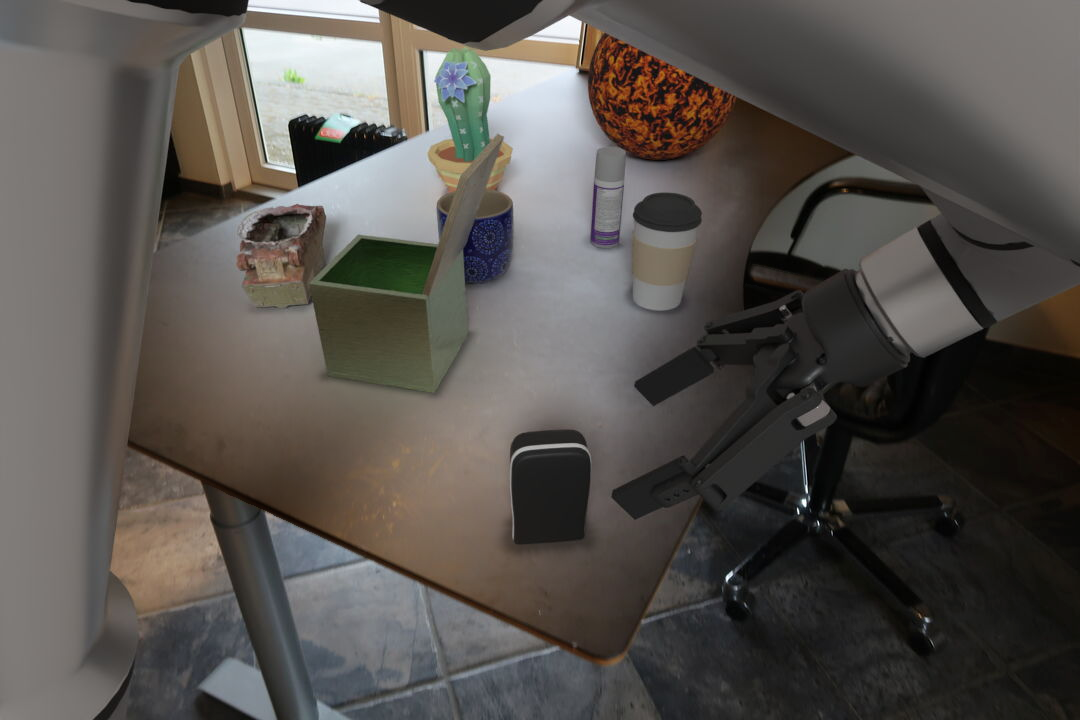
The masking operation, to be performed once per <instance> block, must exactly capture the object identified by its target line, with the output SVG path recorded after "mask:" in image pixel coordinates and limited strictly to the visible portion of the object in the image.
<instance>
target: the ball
mask: <svg viewBox="0 0 1080 720" xmlns="http://www.w3.org/2000/svg"><path fill="white" fill-rule="evenodd" d="M602 33H603V34H602V35H601V37H600V38H599V40H598V42H597V44H596V46H595V48H594V50H593V54H592V56H591V59H590V63H589V68H588V74H587V92H588V94H587V95H588V99H589V105H590V109H591V112H592V114H593V116H594V118H595V121H596V122H597V124H598V127H600V129H601V130H602V133H604V135H605V136H606V137H607V138H608V139H609V140H610V141H611V142H612V143H613V144H615V145H616V147H618V148H621V149H623V150H625V151H626V153H628V154H631V155H633V156H635V157H638V158H642V159H647V160H654V161H655V160H656V161H663V160H665V161H666V160H672V159H676V158H681V157H683V156H686V155H688V154H691V153H693V152H695V151H697V150H699V149H700V148H702V147H704V145H706V144H707V143H709V142H710V141H711V140H712V139H713V138H714V137H715V136H716V135H717V134H718V133H719V132H720V131H721V129H722V128H723V127H724V125H725V124H726V122H727V121H728V119H729V118H730V116H731V114H732V113H733V110H734V107H735V105H736V102H737V100H738V97H736V96H734V95H732V94H730V93H728V92H726V91H724V90H722V89H720V88H717V87H715V86H713V85H711V84H709V83H707V82H705V81H703V80H701V79H699V78H697V77H695V76H693V75H691V74H689V73H687V72H685V71H682V70H680V69H678V68H676V67H674V66H672V65H670V64H668V63H666V62H664V61H662V60H660V59H658V58H656V57H654V56H652V55H650V54H647V53H645V52H643V51H641V50H639V49H637V48H635V47H633V46H631V45H629V44H627V43H625V42H623V41H621V40H619V39H617V38H615V37H612V36H610V35H608V34H606V33H604V32H602Z"/></svg>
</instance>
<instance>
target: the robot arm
mask: <svg viewBox="0 0 1080 720" xmlns="http://www.w3.org/2000/svg"><path fill="white" fill-rule="evenodd" d="M249 1H250V0H0V720H126V717H127V710H128V705H129V700H130V693H131V688H132V683H133V674H134V671H135V665H136V657H137V652H138V646H139V639H140V633H139V625H140V624H139V618H138V611H137V608H136V605H135V602H134V599H133V596H132V595H131V594H130V592H129V590H128V588H127V587H126V585H125V584H124V583H123V582H122V581H121V579H120V578H119V577H118V576H117V575H116V574H115V573H114V572H112V571H111V567H112V558H113V552H114V545H115V536H116V529H117V522H118V516H119V515H118V514H119V508H120V501H121V494H122V486H123V480H124V472H125V464H126V458H127V451H128V450H127V449H128V444H129V443H128V442H129V435H130V428H131V421H132V414H133V413H132V412H133V405H134V399H135V392H136V386H137V385H136V384H137V378H138V370H139V364H140V363H139V362H140V356H141V349H142V342H143V341H142V340H143V333H144V326H145V318H146V311H147V305H148V297H149V292H150V291H149V289H150V283H151V277H152V269H153V262H154V261H153V260H154V254H155V246H156V239H157V231H158V225H159V217H160V209H161V203H162V195H163V188H164V181H165V173H166V168H167V167H166V166H167V159H168V153H169V152H168V151H169V144H170V137H171V130H172V124H173V123H172V122H173V116H174V108H175V101H176V94H177V86H178V79H179V72H180V71H179V70H180V66H181V64H183V62H184V61H185V60H186V59H187V58H188V56H190V55H191V54H193V53H195V52H197V51H199V50H200V49H203V48H204V47H205V46H207V45H209V44H211V43H213V42H215V41H216V40H218V39H220V38H221V37H224V36H225V35H227V34H229V33H231V32H232V31H234V30H236V29H238V28H239V27H240V28H241V26H244V24H245V22H246V20H247V19H246V18H247V13H248V8H249V7H248V6H249ZM358 1H359V2H360V3H361V4H364V5H368V6H370V7H372V8H374V9H377V10H379V11H381V12H384V13H387V14H389V15H391V16H393V17H396V18H398V19H400V20H403V21H405V22H407V23H410V24H411V25H412V24H413V25H415V26H417V27H420V28H422V29H424V30H426V31H429V32H431V33H433V34H436V35H438V36H441V37H443V38H445V39H447V40H449V41H453V42H454V43H457V44H460V45H462V46H464V47H467V48H471V49H474V50H475V49H476V50H479V51H485V52H487V51H493V50H498V49H505V48H508V47H511V46H512V45H514V44H517V43H519V42H521V41H523V40H525V39H528V38H530V37H532V36H534V35H536V34H538V33H540V32H541V31H544V30H545V29H547V28H549V27H551V26H552V25H554V24H557V23H558V22H560V21H561V20H563V19H565V18H568V17H571V18H573V19H576V20H577V21H579V22H582V23H584V24H586V25H587V26H590V27H592V28H594V29H596V30H598V31H600V32H602V33H606V34H608V35H610V36H612V37H615V38H617V39H619V40H621V41H623V42H625V43H627V44H629V45H631V46H633V47H635V48H637V49H639V50H641V51H643V52H645V53H647V54H650V55H652V56H654V57H656V58H658V59H660V60H662V61H664V62H666V63H668V64H670V65H672V66H674V67H676V68H678V69H680V70H682V71H685V72H687V73H689V74H691V75H693V76H695V77H697V78H699V79H701V80H703V81H705V82H707V83H709V84H711V85H713V86H715V87H717V88H720V89H722V90H724V91H726V92H728V93H730V94H732V95H734V96H736V97H737V99H740V100H742V101H744V102H747V103H749V104H751V105H753V106H755V107H757V108H758V109H761V110H763V111H765V112H767V113H769V114H771V115H773V116H774V117H775V116H776V117H777V118H779V119H781V120H784V121H786V122H787V123H790V124H792V125H794V126H796V127H798V128H800V129H802V130H804V131H806V132H808V133H810V134H812V135H814V136H816V137H819V138H821V139H822V140H825V141H827V142H829V143H831V144H833V145H835V146H836V147H838V148H839V147H840V148H841V149H843V150H845V151H847V152H848V153H852V154H854V155H856V156H858V157H859V158H862V159H864V160H865V161H868V162H870V163H871V164H874V165H876V166H878V167H880V168H882V169H884V170H887V171H888V172H891V173H892V174H895V175H897V176H899V177H901V178H902V179H905V180H907V181H909V182H911V183H913V184H916V185H918V186H919V187H920V188H921V189H922V191H923V192H924V193H925V194H926V196H927V197H928V199H929V200H930V201H931V202H932V204H933V205H934V206H935V207H936V208H937V210H938V212H940V213H939V214H937V215H936V216H934V217H933V218H931V219H929V220H927V221H925V222H924V223H921V224H920V225H918V226H917V225H916V226H915V227H913V228H911V229H909V230H908V231H906V232H905V233H902V234H901V235H899V236H897V237H896V238H894V239H892V240H891V241H889V242H887V243H886V244H884V245H882V246H880V247H879V248H876V249H875V250H874V251H872V252H870V253H868V254H867V255H865V256H863V257H862V258H860V260H859V263H858V267H859V269H858V270H855V269H853V268H850V269H848V268H843V269H842V270H840V271H838V272H836V273H835V274H833V275H831V276H830V277H828V278H827V279H825V280H823V281H821V282H819V283H818V284H815V285H814V286H812V287H811V288H810V289H808V290H807V291H805V292H803V291H802V290H801V289H797V290H794V291H792V292H790V293H789V294H787V295H785V296H783V297H780V298H779V299H776V300H774V301H772V302H768V303H765V304H761V305H758V306H754V307H751V308H748V309H744V310H741V311H737V312H735V313H731V314H728V315H725V316H721V317H718V318H714V319H711V320H710V321H707V322H706V323H705V325H704V326H703V330H704V331H705V334H704V335H702V336H701V337H699V339H697V341H696V345H695V346H693V347H691V348H689V349H687V350H685V351H684V352H682V353H681V354H679V355H677V356H675V357H674V358H672V359H670V360H669V361H667V362H666V363H664V364H661V365H660V366H658V367H657V368H655V369H654V370H652V371H650V372H649V373H646V374H645V375H644V376H642V377H640V378H638V379H636V380H635V381H634V384H633V387H634V388H635V389H636V391H638V392H639V394H641V396H642V397H643V398H644V399H645V400H646V401H647V402H648V403H649V404H650V405H651V406H652V407H655V406H657V405H659V404H660V403H662V402H664V401H666V400H667V399H669V398H671V397H673V396H675V395H677V394H679V393H680V392H682V391H684V390H686V389H688V388H689V387H691V386H694V385H695V384H696V383H698V382H700V381H702V380H704V379H705V378H707V377H709V376H711V375H712V374H714V372H715V367H716V368H717V369H718V371H722V369H723V368H724V367H725V365H726V366H727V365H728V366H730V365H731V366H755V368H754V371H753V379H752V380H751V382H750V383H749V384H748V385H747V386H746V388H745V398H744V399H743V400H742V402H740V403H739V404H738V406H737V407H736V408H735V409H734V410H733V411H732V413H731V414H730V415H729V416H728V417H727V418H726V419H725V420H724V421H723V423H722V424H721V425H720V426H719V427H718V428H717V429H716V430H715V432H714V433H713V434H712V435H711V436H710V437H709V438H708V440H706V442H705V443H704V444H703V445H702V446H701V447H700V448H699V449H698V451H696V453H695V454H694V455H693V456H692V457H691V459H690V460H689V459H688V458H687V457H686V456H685V455H681V456H679V457H677V458H675V459H673V460H671V461H668V462H667V463H665V464H662V465H660V466H658V467H657V468H654V469H652V470H651V471H648V472H647V473H644V474H642V475H640V476H638V477H636V478H634V479H632V480H630V481H627V482H626V483H624V484H622V485H619V486H618V487H616V488H614V489H612V491H611V497H610V498H611V499H612V500H613V501H614V502H615V503H616V504H617V505H619V507H620V508H622V510H623V511H625V512H626V513H627V514H628V516H630V517H631V518H632V519H633V521H636V520H638V519H640V518H642V517H645V516H647V515H649V514H651V513H653V512H655V511H658V510H661V509H663V508H665V509H666V508H672V507H674V506H676V505H679V504H681V503H683V502H685V501H688V500H690V499H692V498H694V497H696V496H700V497H701V498H702V499H703V500H704V501H705V502H706V503H707V504H708V505H709V506H710V507H711V509H712V510H713V511H715V512H720V511H723V510H724V509H726V508H727V507H728V506H729V505H730V504H731V503H733V502H734V501H735V500H736V499H737V498H739V496H741V495H742V494H743V493H744V492H745V491H746V490H748V489H749V488H750V487H751V486H752V485H754V484H755V483H756V482H757V481H758V480H759V479H761V478H762V477H763V476H764V475H766V474H767V473H768V472H769V471H770V470H771V469H772V468H773V467H775V466H776V465H777V464H778V463H779V462H781V461H782V460H783V459H784V458H785V457H787V455H789V454H790V453H791V452H792V451H794V450H795V449H796V448H797V447H798V446H799V445H801V444H802V443H803V442H804V441H805V440H806V439H808V438H810V437H812V436H813V435H815V434H817V433H819V432H820V431H823V430H824V429H826V428H829V427H830V426H832V425H833V424H834V423H835V422H836V421H837V418H838V414H836V412H835V411H834V410H833V409H832V408H831V407H830V405H829V404H828V403H827V401H826V399H825V396H824V395H825V394H826V393H827V392H828V391H830V389H832V388H833V387H834V386H836V385H838V384H841V383H846V384H850V385H852V386H854V387H858V388H865V387H867V386H870V385H872V384H874V383H877V382H878V381H880V380H882V379H884V378H886V377H889V376H891V375H893V374H895V373H897V372H899V371H901V370H904V369H906V368H908V365H909V364H908V363H910V361H911V353H912V354H913V355H915V356H916V357H919V358H923V359H924V358H927V357H928V356H930V355H932V354H935V353H937V352H938V351H941V350H943V349H945V348H947V347H949V346H951V345H953V344H955V343H957V342H959V341H962V340H963V339H965V338H967V337H970V336H971V335H974V334H975V333H977V332H979V331H982V330H983V329H988V328H990V327H992V326H994V325H996V324H997V323H999V322H1001V321H1003V320H1006V319H1007V318H1009V317H1012V316H1014V315H1016V314H1018V313H1020V312H1022V311H1025V310H1027V309H1029V308H1031V307H1034V306H1035V305H1037V304H1040V303H1042V302H1044V301H1046V300H1048V299H1049V300H1050V299H1051V298H1053V297H1055V296H1058V295H1059V294H1062V293H1064V292H1066V291H1068V290H1070V289H1073V288H1075V287H1077V286H1079V285H1080V0H358ZM726 331H727V333H726ZM711 362H712V364H714V366H715V367H714V366H713V365H712V364H711ZM775 401H779V402H781V401H782V402H781V403H780V404H777V403H776V402H775Z"/></svg>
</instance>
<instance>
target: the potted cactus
mask: <svg viewBox="0 0 1080 720" xmlns="http://www.w3.org/2000/svg"><path fill="white" fill-rule="evenodd" d="M434 78H435V79H433V82H434V83H435V85H436V86H435V87H436V95H437V100H438V104H439V106H440V108H441V110H442V112H443V114H444V116H445V118H446V120H447V123H448V126H449V130H450V131H449V132H450V134H451V138H449V139H444V140H441V141H439V142H437V143H434V144H433V145H431V146H430V147H429V149H428V151H427V153H426V154H427V157H428V161H429V163H431V164H432V165H433V167H434V168H435V170H436V172H437V175H438V177H439V178H440V180H441V181H442V182H443V183H444V185H445V186H446V187H447V189H448V191H447V193H450V192H453V191H456V188H457V185H458V182H459V179H460V176H461V175H462V174H463V172H464V171H465V170H466V169H467V168H468V167H469V166H470V164H471V163H472V162H473V161H474V160H475V159H476V158H477V156H478V155H479V154H480V153H481V152H482V151H483V150H484V148H485V147H486V146H487V145H488V144H489V143H490V142H491V141H492V139H493V138H490V129H489V121H488V120H489V119H488V111H489V106H490V102H491V80H492V79H491V74H490V71H489V69H488V66H487V65H486V64H485V62H484V61H483V59H482V58H481V57H480V55H478V52H476V50H475V48H471V49H469V48H468V46H464V47H462V48H461V50H460V49H459V48H456V47H452V49H451V50H448V52H447V53H446V54H445V57H444V59H443V61H442V62H441V64H440V66H439V68H438V71H436V74H435V77H434ZM513 150H514V148H513V147H512V146H511V145H510V144H507V143H506V142H505V141H504V140H503V141H502V144H501V147H500V150H499V153H498V156H497V158H496V161H495V164H494V167H493V170H492V172H491V175H490V178H489V181H488V184H487V187H486V189H491V190H496V191H497V186H498V185H499V184H500V182H501V181H502V179H503V176H504V173H505V170H506V167H507V166H508V165H510V163H511V158H512V154H513Z"/></svg>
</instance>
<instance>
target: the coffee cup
mask: <svg viewBox="0 0 1080 720" xmlns="http://www.w3.org/2000/svg"><path fill="white" fill-rule="evenodd" d="M633 209H634V210H633V213H632V217H633V220H634V221H633V226H634V227H633V229H632V248H631V253H632V254H631V273H632V300H633V302H634V304H636V305H637V306H639V307H641V308H643V309H645V310H651V311H657V312H659V311H661V312H663V311H670V310H673V309H675V308H677V307H678V306H680V304H681V303H682V298H683V294H684V290H685V287H686V283H687V282H686V281H687V279H688V277H689V273H690V270H691V265H692V261H693V256H694V253H695V249H696V244H697V240H698V232H699V227H700V225H701V224H702V222H703V219H702V216H703V212H702V209H701V208H700V207H699V206H698V205H696V202H695V201H694V199H693V198H691V197H689V196H687V195H684V194H681V193H678V192H677V193H676V192H666V191H665V192H655V193H651V194H647V195H646V196H645V197H644V198H643V199H642V200H641V201H639V202H638V203H636V205H635V206H634V207H633Z"/></svg>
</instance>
